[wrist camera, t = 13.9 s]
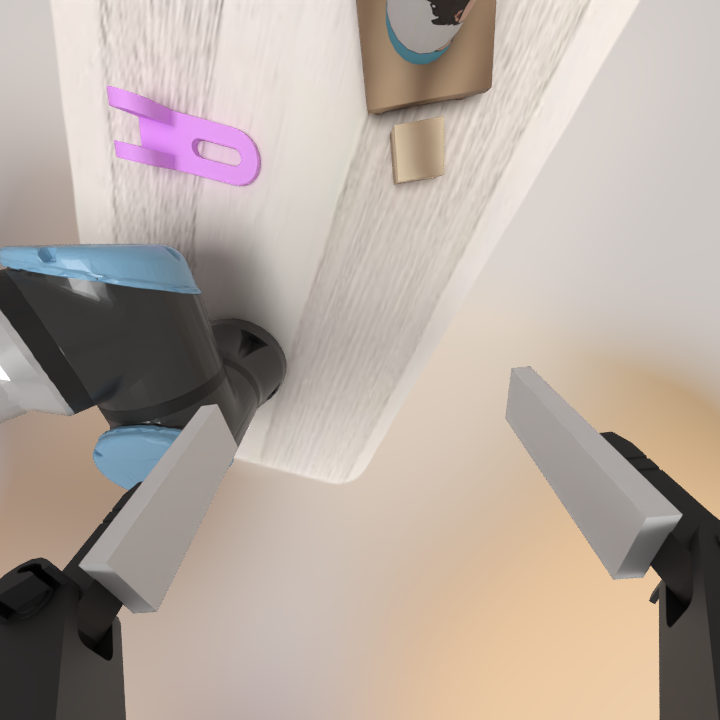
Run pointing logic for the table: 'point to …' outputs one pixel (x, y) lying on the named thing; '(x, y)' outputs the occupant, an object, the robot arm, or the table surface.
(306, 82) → the table surface
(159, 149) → the bracket
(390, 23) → the printed can
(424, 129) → the oak block
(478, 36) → the stand
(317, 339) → the table surface
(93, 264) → the robot arm
